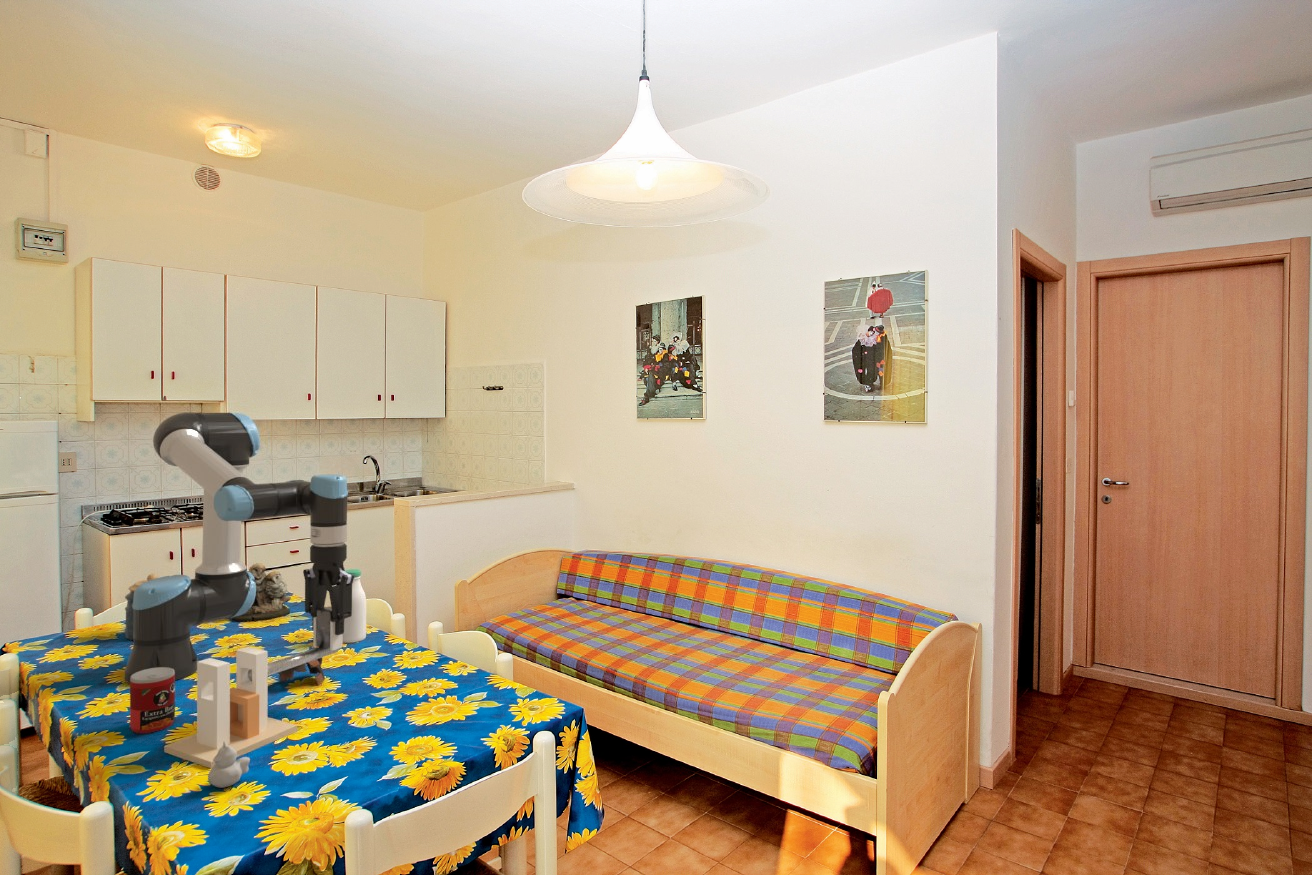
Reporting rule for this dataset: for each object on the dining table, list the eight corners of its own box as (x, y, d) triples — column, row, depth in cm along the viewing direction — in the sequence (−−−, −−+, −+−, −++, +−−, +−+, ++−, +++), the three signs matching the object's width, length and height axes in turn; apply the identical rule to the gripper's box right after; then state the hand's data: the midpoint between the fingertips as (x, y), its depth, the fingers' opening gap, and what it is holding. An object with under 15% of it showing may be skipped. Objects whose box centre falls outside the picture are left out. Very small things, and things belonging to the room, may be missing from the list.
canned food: (141, 737, 146) (141, 682, 146) (122, 727, 151) (122, 674, 150) (182, 724, 153) (182, 671, 153) (163, 715, 157) (163, 664, 157)
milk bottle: (371, 638, 213) (372, 569, 212) (348, 645, 206) (348, 574, 206) (355, 633, 217) (355, 566, 216) (331, 640, 210) (331, 570, 210)
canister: (168, 625, 222) (168, 567, 221) (187, 633, 214) (187, 573, 214) (117, 635, 211) (117, 574, 211) (135, 644, 204) (135, 581, 203)
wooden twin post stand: (164, 752, 140) (164, 664, 140) (251, 717, 157) (251, 638, 156) (211, 768, 134) (211, 676, 134) (297, 731, 150) (297, 649, 150)
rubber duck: (203, 785, 128) (203, 740, 128) (243, 771, 133) (244, 728, 133) (214, 796, 125) (214, 749, 125) (255, 782, 130) (255, 737, 129)
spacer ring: (221, 730, 147) (221, 691, 147) (232, 726, 149) (233, 687, 149) (247, 739, 144) (247, 698, 144) (259, 734, 146) (259, 694, 146)
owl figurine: (230, 625, 223) (230, 570, 222) (223, 617, 232) (222, 563, 231) (294, 615, 235) (294, 562, 234) (285, 608, 243) (284, 557, 243)
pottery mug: (317, 692, 173) (297, 664, 171) (284, 706, 174) (264, 679, 172) (340, 662, 184) (322, 636, 182) (309, 676, 186) (291, 650, 184)
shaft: (259, 682, 148) (259, 631, 147) (244, 679, 150) (244, 628, 149) (343, 653, 166) (343, 608, 166) (328, 650, 168) (329, 605, 168)
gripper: (286, 542, 165) (286, 645, 166) (343, 550, 157) (342, 657, 158) (315, 537, 172) (314, 636, 172) (370, 544, 164) (369, 648, 165)
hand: (327, 646), depth 165 cm, fingers closed on shaft, 5 cm apart
